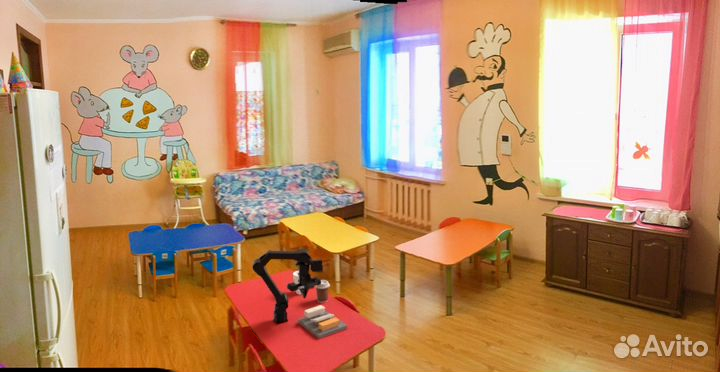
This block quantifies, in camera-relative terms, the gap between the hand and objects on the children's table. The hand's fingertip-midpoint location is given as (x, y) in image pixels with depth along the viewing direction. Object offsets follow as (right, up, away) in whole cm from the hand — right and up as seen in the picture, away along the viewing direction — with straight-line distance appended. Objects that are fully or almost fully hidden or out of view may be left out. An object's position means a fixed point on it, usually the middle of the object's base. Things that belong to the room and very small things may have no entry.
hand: (304, 298), depth 276 cm
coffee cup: (+8, -8, +26) cm, 29 cm away
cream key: (+6, -9, +1) cm, 11 cm away
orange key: (+15, -13, -11) cm, 22 cm away
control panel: (+11, -14, -5) cm, 18 cm away
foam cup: (-6, -5, +38) cm, 39 cm away
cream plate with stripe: (+11, -9, -6) cm, 15 cm away
